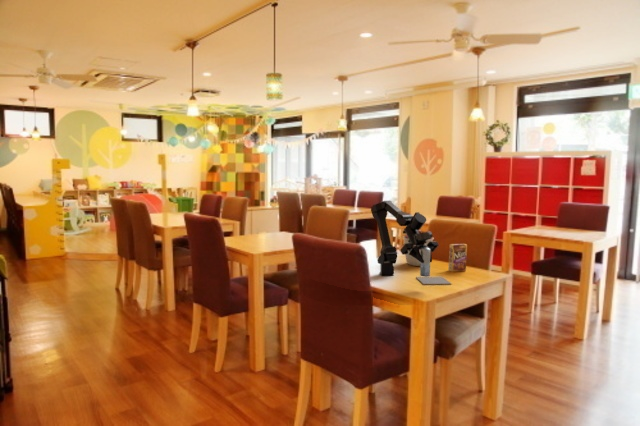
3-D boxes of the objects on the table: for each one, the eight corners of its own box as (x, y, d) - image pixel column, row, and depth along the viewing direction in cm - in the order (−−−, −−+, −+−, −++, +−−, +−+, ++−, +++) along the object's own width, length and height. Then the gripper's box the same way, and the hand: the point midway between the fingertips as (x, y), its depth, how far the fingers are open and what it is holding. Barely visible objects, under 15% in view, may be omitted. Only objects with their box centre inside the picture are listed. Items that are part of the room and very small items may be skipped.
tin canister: (421, 276, 208) (422, 249, 207) (419, 274, 213) (419, 247, 211) (430, 276, 209) (431, 249, 207) (428, 274, 213) (429, 247, 212)
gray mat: (423, 284, 220) (423, 283, 220) (415, 278, 234) (415, 276, 234) (451, 284, 221) (451, 283, 220) (442, 277, 234) (442, 276, 234)
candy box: (452, 272, 248) (452, 245, 247) (448, 270, 252) (449, 243, 251) (466, 271, 250) (467, 244, 248) (462, 269, 254) (463, 243, 253)
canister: (431, 262, 275) (432, 228, 273) (434, 268, 257) (435, 232, 255) (401, 261, 277) (402, 227, 275) (402, 267, 259) (403, 231, 257)
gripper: (404, 226, 208) (418, 253, 199) (437, 224, 216) (451, 251, 207) (395, 240, 216) (407, 267, 207) (426, 238, 224) (439, 264, 215)
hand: (427, 262), depth 209 cm, fingers closed on tin canister, 4 cm apart
